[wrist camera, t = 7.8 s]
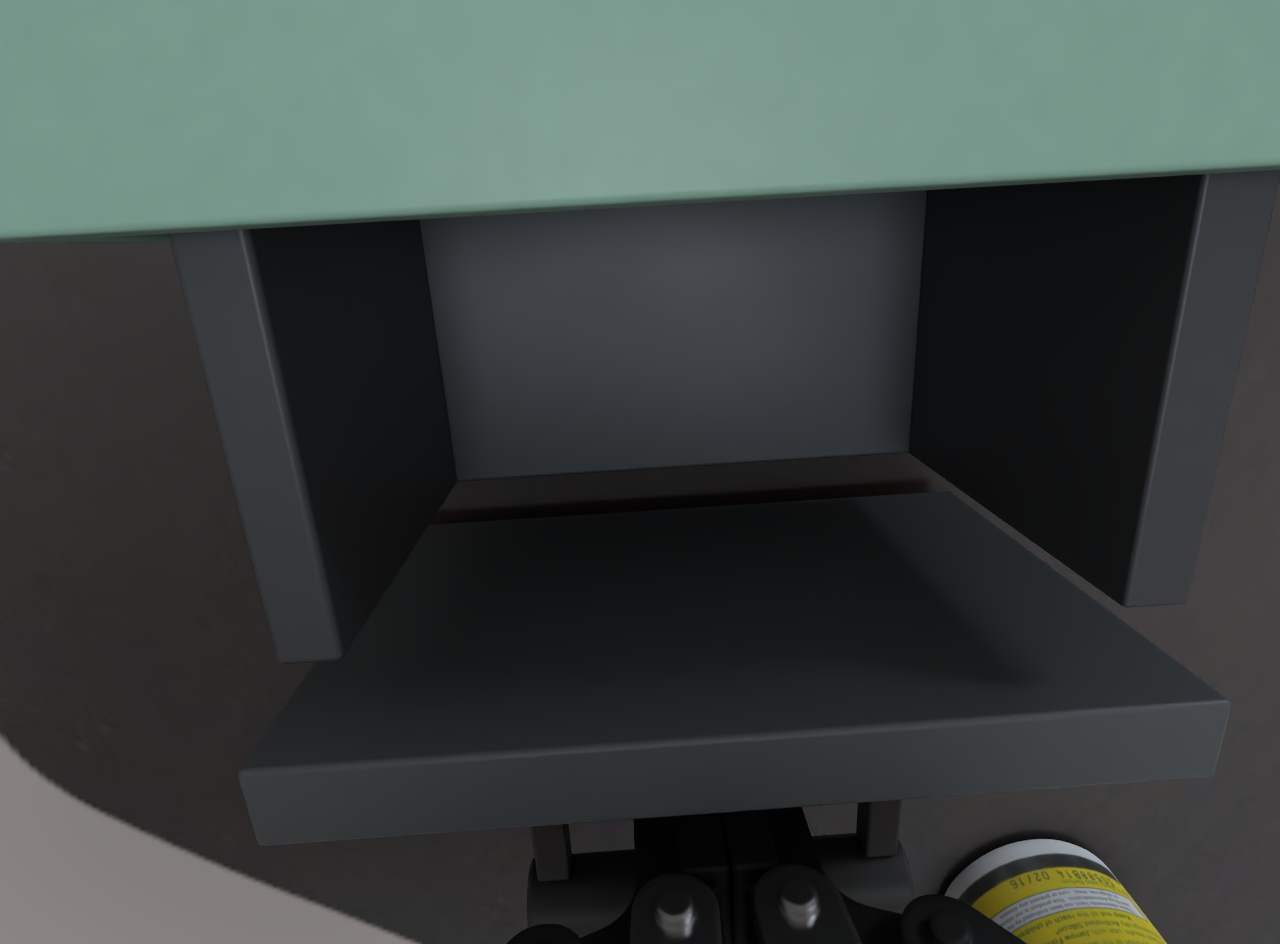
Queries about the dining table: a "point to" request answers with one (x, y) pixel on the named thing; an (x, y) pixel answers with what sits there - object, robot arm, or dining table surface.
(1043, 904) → the supplement bottle
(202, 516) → the dining table surface
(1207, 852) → the dining table surface
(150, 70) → the green drawer cabinet
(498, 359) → the grey pull-out drawer
